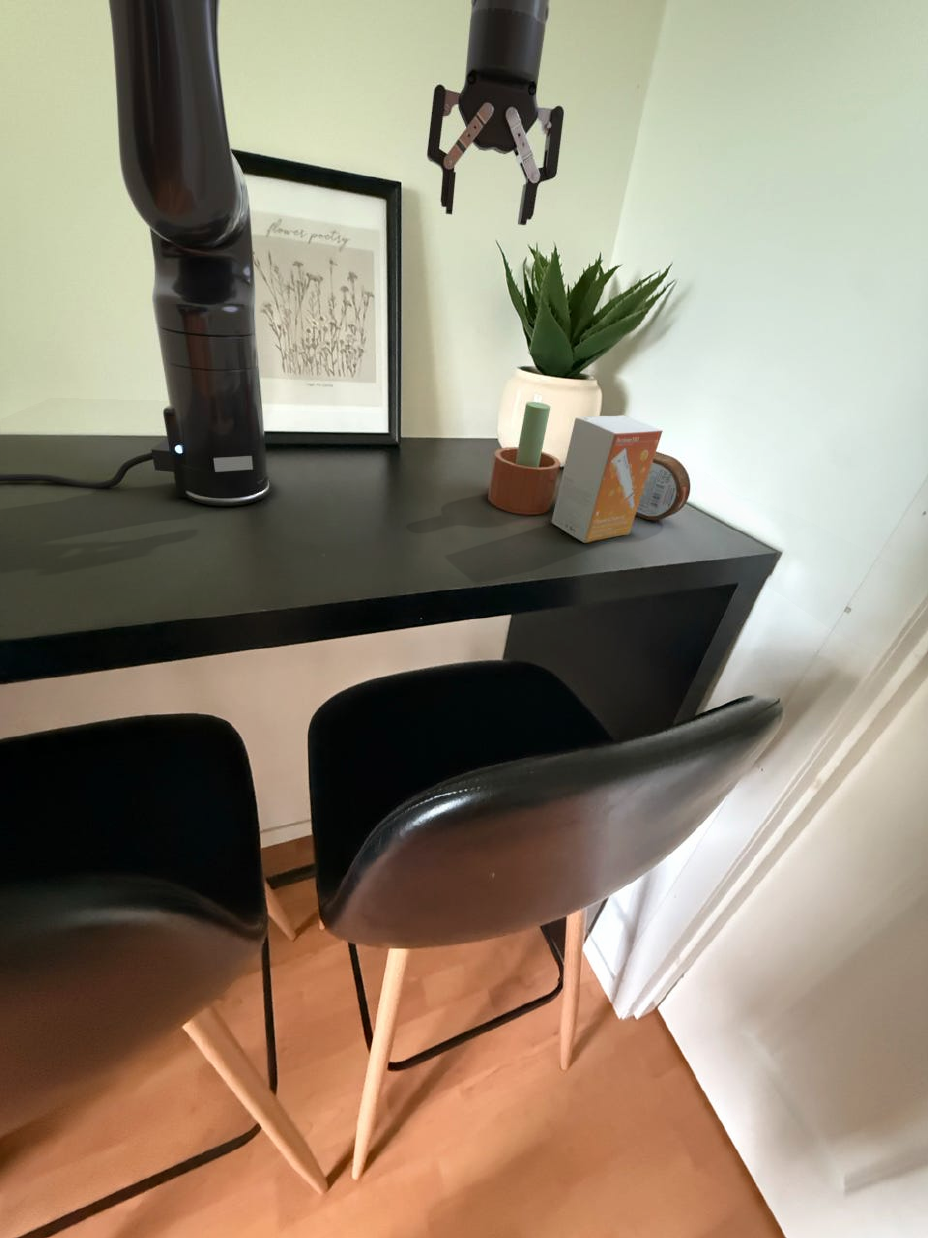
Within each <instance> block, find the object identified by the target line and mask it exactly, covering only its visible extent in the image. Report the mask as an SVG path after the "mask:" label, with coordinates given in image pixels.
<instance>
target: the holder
mask: <svg viewBox="0 0 928 1238" xmlns="http://www.w3.org/2000/svg"><path fill="white" fill-rule="evenodd" d="M517 452H518V446H510V447H507V446H505V447H502V448H498V449H497V450H496V451H494V453H493V459H492V460H493V461H492V467H491V474H490V480H489V485H488V486H489V487H488V496H487V499H488V501H489V503H491V505H493V506H495V507H496V508H498V509H500V510H503V511H505V512H507V513H513V514H517V515H523V516H524V515H526V516H535V515H542V514H546V513H548V512H549V511H550V510H551V508H552V504H553V501H554V496H555V492H556V486H557V482H558V477H559V473H560V468H561V464H562V463H561V461H560V460H559V458H557V457H555V456H554V455H552V454H550V453H547V452H545V451H542V453H541V458H540V463H539V468H536V467H526V466H522V465H517V464H516V458H517Z"/></svg>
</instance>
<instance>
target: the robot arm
mask: <svg viewBox="0 0 928 1238" xmlns="http://www.w3.org/2000/svg"><path fill="white" fill-rule="evenodd" d="M470 2H471V3H470V4H471V5H470V6H471V7H470V19H469V28H468V29H469V31H468V41H467V52H466V63H465V75H464V84H463V88H462V89H461V91H460V92H458V91H453V90H450V89H447V88H446V87H445V86H444V85H443V84H437V85H436V86H435V87H434V90H433V91H434V92H433V97H432V105H431V106H432V107H431V115H430V116H431V117H430V125H429V133H428V141H427V142H428V143H427V151H426V156H427V160H428V161H429V162H430V163H434V164H435V165H436V166H437V167H439V169H441V172H442V173H441V174H442V175H441V188H440V206H441V208H445V214H446V215H451V216H452V215H453V207H454V198H455V188H456V176H457V175H456V174H457V172H456V171H455V168H456V167H455V166H456V165H457V164H458V163H459V161H460V160H461V158H462V157H463V156H464V155H465V153H466V152H467V150H468V149H469V148H470V147H471V145H472V144H473V146H475V147H476V149H478V151H483V152H484V151H485V152H487V151H492V150H493V151H494V152H497V154H501V155H507V154H509V153H511V152H512V153H513V155H514V157H515V160H516V162H517V165H518V166H519V168H520V170H521V173H522V176H523V178H524V181H525V183H524V184H522V190H521V197H520V204H519V211H518V219H517V225H519V226H527V221H530V220H532V218H533V216H534V214H535V213H534V212H535V207H536V200H537V195H538V187H539V185H540V184H541V183H543V182H546V181H550V180H552V179H554V178H555V177H556V176H557V174H558V167H559V158H560V150H561V149H560V148H561V142H562V135H563V134H562V133H563V124H564V117H565V110H564V108H563V106H561V105H556V106H555V107H554V108H550V107H540V106H539V105H538V101H537V100H538V99H537V91H538V83H539V77H540V70H541V64H542V63H541V62H542V57H543V56H542V55H543V48H544V40H545V34H546V27H547V22H548V21H549V15H550V0H471V1H470ZM220 3H221V0H108V7H109V15H110V22H111V33H112V46H113V62H114V63H113V64H114V79H115V80H114V82H115V94H116V95H115V96H116V116H117V117H116V119H117V137H118V155H119V166H120V172H121V177H122V181H123V184H124V188H125V190H126V193H127V195H128V198H129V200H130V201H131V203H132V205H133V207H134V208H135V211H136V212H137V214H138V216H140V218H141V219H142V220H143V222H144V223H145V224H146V225H147V226H148V229H149V234H150V242H151V249H152V254H153V255H152V256H153V267H154V276H153V277H154V279H153V288H152V295H151V303H152V309H153V315H154V321H155V326H156V332H157V333H156V334H157V338H158V343H159V344H158V345H159V350H160V355H161V356H160V357H161V362H162V367H163V373H164V380H165V385H166V391H167V398H168V404H169V405H167V406H166V407H165V408H163V412H162V415H163V421H164V426H165V432H166V437H165V438H164V439H163V440H161V441H160V442H159V443H157V444H156V445H155V446H154V447H152V449H150V452H148V453H144V454H141V455H137V456H135V457H132V458H130V459H128V460H127V461H125V462H124V463H122V464H121V465H120V467H119V468H118V470H117V471H116V473H115V475H114V476H113V477H112V478H110V479H108V480H104V481H96V482H93V481H84V480H78V479H73V478H69V477H63V476H60V475H54V474H45V473H44V474H43V473H0V482H22V481H23V482H47V483H55V484H60V485H66V486H70V487H77V488H78V487H80V488H86V489H87V488H88V489H108V488H111V487H115V486H117V485H118V484H119V483H121V482H122V480H123V479H124V478H125V475H126V474H127V472H128V471H129V470H130V469H132V468H134V467H135V466H137V465H140V464H143V463H145V462H148V461H152V463H153V467H154V470H155V471H159V472H169V473H173V478H174V482H175V483H174V484H175V490H176V496H177V497H178V498H184V499H185V498H186V499H188V500H190V501H192V502H195V503H198V504H203V505H207V506H216V507H217V506H218V507H235V506H243V505H248V504H252V503H256V502H258V501H261V500H264V499H265V498H266V497H268V495H269V494H270V482H269V473H268V463H267V450H266V441H265V440H266V439H265V427H264V426H265V425H264V413H263V400H262V389H261V387H262V386H261V376H260V364H259V351H258V338H257V337H258V336H257V325H256V279H255V261H254V247H253V233H252V218H251V217H252V215H251V207H250V196H249V191H248V190H249V189H248V186H247V182H246V179H245V176H244V173H243V170H242V168H241V165H240V164H239V162H238V160H237V159H236V157H235V155H234V154H233V153H232V148H231V142H230V136H229V130H228V122H227V115H226V108H225V107H226V106H225V99H224V91H223V82H222V73H221V61H220V60H221V59H220V47H219V46H220V45H219V42H220V41H219V24H220V23H219V21H220V20H219V19H220V18H219V17H220ZM455 107H457V108H458V111H459V114H460V116H461V118H462V120H463V124H464V126H465V129H464V130H463V132H461V135H460V136H459V137H458V139H457V140H456V142H455V143H454V144H453V146H452V147H451V149H450V150H448V153H446V152H445V151H443V150H442V149H441V148H440V146H441V136H442V128H443V120H444V118H445V119H446V118H449V117H450V116H451V114H452V110H453V109H454V108H455ZM536 122H538V123H539V124H540V131H541V134H542V135H544V136H545V142H544V143H545V144H544V152H543V159H542V160H543V162H542V167H538V166H537V163H536V161H535V158H534V155H533V150H532V147H531V144H530V143H529V139H528V137H527V134H528V132H530V130H531V128H532V127H533V126H534V125H535V124H536Z"/></svg>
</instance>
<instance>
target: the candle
mask: <svg viewBox="0 0 928 1238" xmlns="http://www.w3.org/2000/svg"><path fill="white" fill-rule="evenodd" d="M524 406H525V408H524V413H523V419H522V424H521V430H520V436H519V441H518V446H517V447H518V452H517V458H516V464H517V465H522V466H526V467H536V468H539V463H540V458H541V453H542V452H543V447H544V443H545V438H546V437H545V436H546V431H547V427H548V423H549V418H550V411H551V406H550V405H549V404H547V403H543V402H539V401H538V402H537V401H528V402H526V403H525V405H524Z"/></svg>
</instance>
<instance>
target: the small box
mask: <svg viewBox="0 0 928 1238" xmlns="http://www.w3.org/2000/svg"><path fill="white" fill-rule="evenodd" d="M663 431H664V430H662V429H660V428H658V427H655V426H652V425H650V424H647V423H645V422H642V421H640V420H637V419H635V418H632V417H629V416H627V415H625V414H621V415H596V416H587V417H586V416H585V417H582V416H581V417H575V419H574V423H573V427H572V431H571V436H570V441H569V444H568V449H567V453H566V457H565V462H564V465H563V471H562V474H561V479H560V483H559V487H558V491H557V492H558V493H557V496H556V499H555V500H556V501H555V505H554V510H553V513H552V517H551V522H550V523H551V524H552V525H554V526H556V527H558V528H559V529H560V530H562V531H564V532H566V533H567V534H569V535H570V536H571V537H574V538H575V539H577V540H579V541H580V542H582V543H583V544H587V543H591V542H594V541H595V542H596V541H600V540H605V539H610V538H615V537H621V536H627V535H629V534H630V533H631V530H632V527H633V523H634V521H635V517H636V512H637V508H638V505H639V502H640V499H641V496H642V493H643V490H644V487H645V484H646V481H647V478H648V475H649V471H650V468H651V465H652V462H653V459H654V456H655V453H656V451H657V449H658V447H659V443H660V441H661V438H662V434H663Z"/></svg>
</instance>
